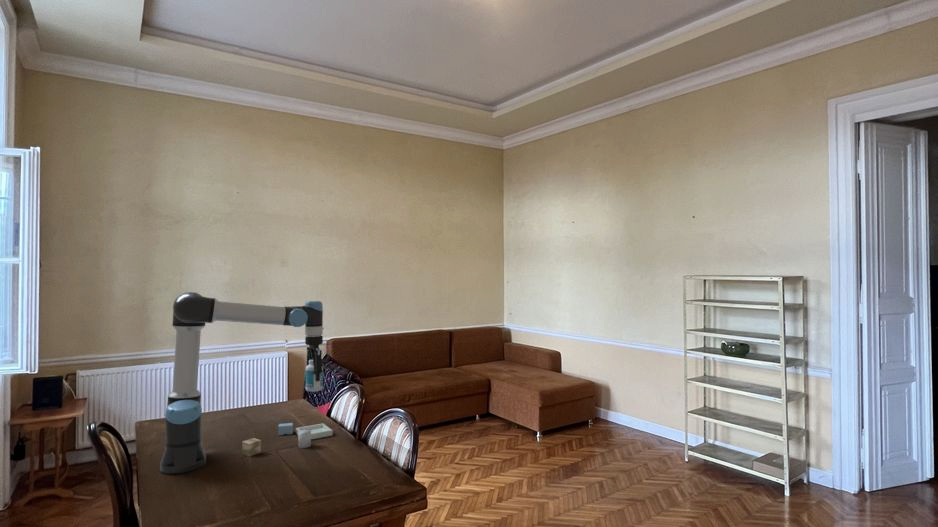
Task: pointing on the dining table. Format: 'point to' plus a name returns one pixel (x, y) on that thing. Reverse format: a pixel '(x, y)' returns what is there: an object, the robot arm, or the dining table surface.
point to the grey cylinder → (304, 438)
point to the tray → (317, 430)
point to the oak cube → (251, 447)
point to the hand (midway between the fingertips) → (314, 386)
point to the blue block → (285, 428)
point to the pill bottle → (312, 377)
